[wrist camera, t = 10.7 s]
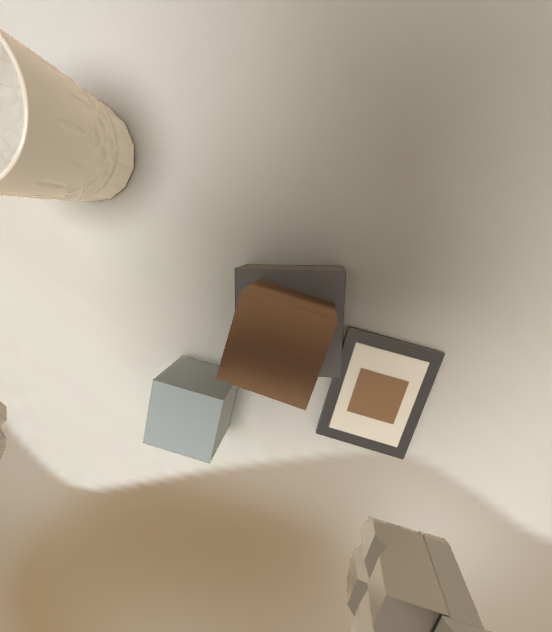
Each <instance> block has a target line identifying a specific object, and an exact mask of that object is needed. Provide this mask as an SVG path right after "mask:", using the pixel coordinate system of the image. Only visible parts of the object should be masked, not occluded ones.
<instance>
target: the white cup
mask: <svg viewBox="0 0 552 632" xmlns="http://www.w3.org/2000/svg"><path fill="white" fill-rule="evenodd" d="M133 169H134V144H133V142H132V139H131V137H130V134H129V132H128V129H127V127H126V124H125V123H124V122H123V121H122V120H121V119H120V118H119V117H118V116H117V115H116V114H115V113H114V112H113V111H112V110H111V109H110V108H109V107H107V106H106V105H105V104H103V103H102V102H100V101H99V100H97V99H96V98H95V97H94V96H93V95H92V94H90V93H89V92H88V91H87V90H85V89H84V88H83V87H81V86H80V85H79V84H77V83H76V82H74V81H73V80H72V79H70V78H69V77H68V76H66V75H65V74H64V73H62V72H61V71H60V70H59V69H57V68H56V67H54V66H53V65H52V64H50V63H49V62H47V61H46V60H44V59H43V58H42V57H40V56H39V55H37V54H36V53H34V52H33V51H32V50H30V49H29V48H27V47H26V46H25V45H23V44H22V43H20V42H19V41H17V40H16V39H15V38H13V37H12V36H10V35H9V34H8V33H6V32H5V31H3V30H2V29H1V28H0V195H2V196H14V197H25V198H36V199H56V200H82V201H99V200H105V199H111V198H112V197H113V196H115V195H116V194H117V193H118V192H120V191H121V190H122V189H123V188H125V187H126V184H127V182H128V180H129V178H130V176H131V173H132V171H133Z"/></svg>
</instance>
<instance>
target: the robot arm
mask: <svg viewBox="0 0 552 632" xmlns="http://www.w3.org/2000/svg"><path fill="white" fill-rule="evenodd" d="M6 420H7V417H6V406H5V405H4V404H2V403H1V402H0V426H1V425H2V424H3V423H4V422H5V421H6ZM5 442H6V437H5V435H4V433H3V431H2V429H1V427H0V458H1V457H2V454H3V451H4V449H5ZM361 536H362V545H360V546H358V547H357V548H355V549H354V552H353V555H352V558H351V561H350V566H349V571H348V576H347V603H348V606H349V607H350V609H351V611H352V613H353V614H354V619H353V622H352V624H351V627H350V629H349V632H490V631H487V630H485V629H484V627H483V625H482V622H481V620H480V617H479V615H478V612H477V610H476V608H475V605H474V603H473V600H472V598H471V596H470V593H469V591H468V588H467V586H466V583H465V581H464V579H463V576H462V574H461V571H460V569H459V566H458V564H457V562H456V559H455V557H454V554H453V552H452V550H451V547H450V545H449V543H448V542H447V541H446V540H445V539H444V538H441V537H437V536H433V535H430V534H427V533H423V532H420V531H418V532H417V531H414V530H411V529H408V528H405V527H401V526H398V525H395V524H391V523H388V522H385V521H382V520H378V519H374V518H371V517H368V518H367V520H366V521H365V523H364V525H363V528H362V530H361Z"/></svg>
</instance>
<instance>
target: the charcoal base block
mask: <svg viewBox="0 0 552 632" xmlns="http://www.w3.org/2000/svg"><path fill="white" fill-rule="evenodd" d="M258 279H262V280H265V281H268V282H271V283H274V284H277V285H280V286H283V287H286V288H289V289H292V290H295V291H298V292H301V293H304V294H307V295H310V296H313V297H316V298H319V299H322V300H326V301H329V302H332V303H335V307H336V313H337V318H338V324H337V327H336V330H335V332H334V335H333V338H332V340H331V343H330V346H329V348H328V351H327V354H326V357H325V359H324V362H323V365H322V367H321V370H320V373H319V375H318V377H334V378H340V372H341V354H342V336H343V318H344V300H345V282H346V270H345V268H344V267H343V266H308V265H260V264H247V265H243V266H240V267H237V268H235V311H236V307H237V304H238V300H239V297H240V293H241V290H242V289H244V288H245V287H247V286H249V285H250V284H252V283H254V282H255V281H257V280H258Z"/></svg>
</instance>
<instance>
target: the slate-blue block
mask: <svg viewBox="0 0 552 632" xmlns="http://www.w3.org/2000/svg"><path fill="white" fill-rule="evenodd" d="M218 370H219V366H217V365H213V364H210V363H206V362H203V361H199V360H195V359H192V358H188V357H185V356H182V357H180V358H179V359H178V360H177V361H176V362H174V363H173V364H172V365H171V366H169V367H168V368H167V369H166V370H165V371H163V372H162V373H161V374H160V375H158V376H157V377H156V378H155V379H154V380H153V383H152V389H151V396H150V402H149V408H148V415H147V421H146V427H145V434H144V440H143V443H145V444H148V445H151V446H154V447H158V448H161V449H164V450H167V451H171V452H174V453H177V454H180V455H184V456H187V457H190V458H193V459H197V460H200V461H203V462H206V463H210V462H211V460H212V458H213V456H214V454H215V452H216V450H217V448H218V446H219V445H220V443H221V441H222V439H223V437H224V435H225V433H226V431H227V429H228V427H229V424H230V419H231V415H232V411H233V406H234V402H235V397H236V393H237V389H238V386H235V385H233V384H230V383H227V382H224V381H221V380H219V379H216V377H217V373H218Z"/></svg>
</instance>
